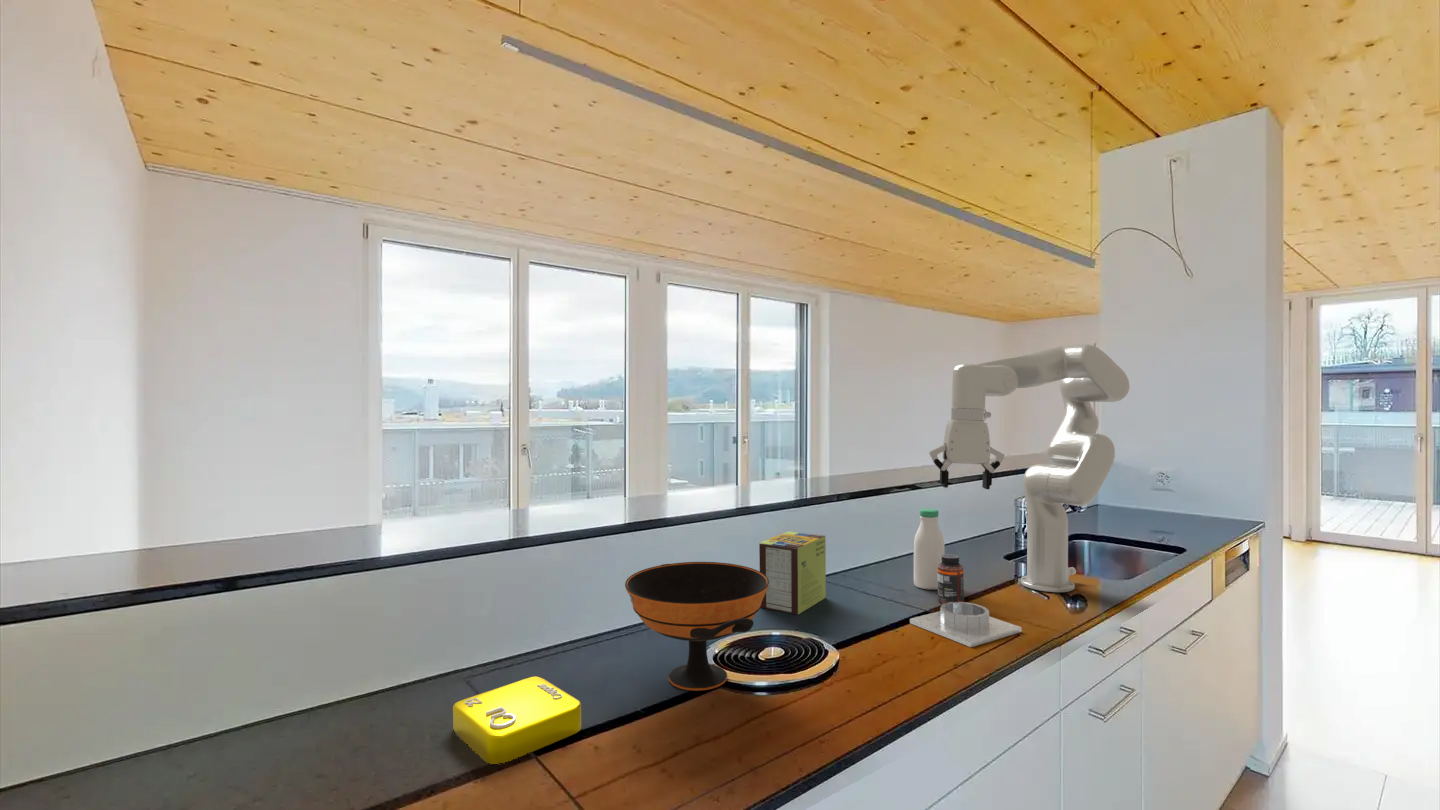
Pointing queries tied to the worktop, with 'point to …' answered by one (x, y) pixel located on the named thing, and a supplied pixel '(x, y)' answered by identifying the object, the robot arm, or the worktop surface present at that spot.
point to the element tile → (516, 719)
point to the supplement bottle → (950, 579)
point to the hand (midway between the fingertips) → (965, 487)
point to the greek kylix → (697, 610)
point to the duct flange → (965, 624)
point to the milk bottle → (928, 550)
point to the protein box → (793, 571)
